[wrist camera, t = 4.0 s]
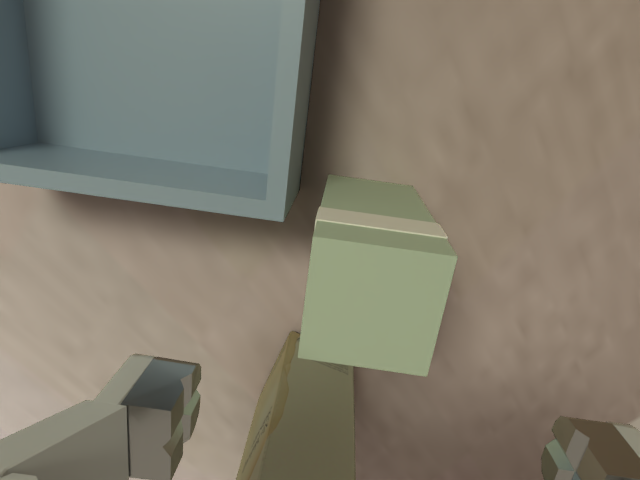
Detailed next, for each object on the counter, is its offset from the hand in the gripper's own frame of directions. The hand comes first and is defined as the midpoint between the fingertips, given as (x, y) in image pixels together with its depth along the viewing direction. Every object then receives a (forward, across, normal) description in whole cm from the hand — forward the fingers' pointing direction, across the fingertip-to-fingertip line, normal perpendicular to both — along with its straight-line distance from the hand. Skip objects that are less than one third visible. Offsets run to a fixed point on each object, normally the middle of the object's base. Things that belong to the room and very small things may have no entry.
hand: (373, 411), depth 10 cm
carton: (+14, 0, 0) cm, 15 cm away
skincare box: (+15, +2, +11) cm, 18 cm away
